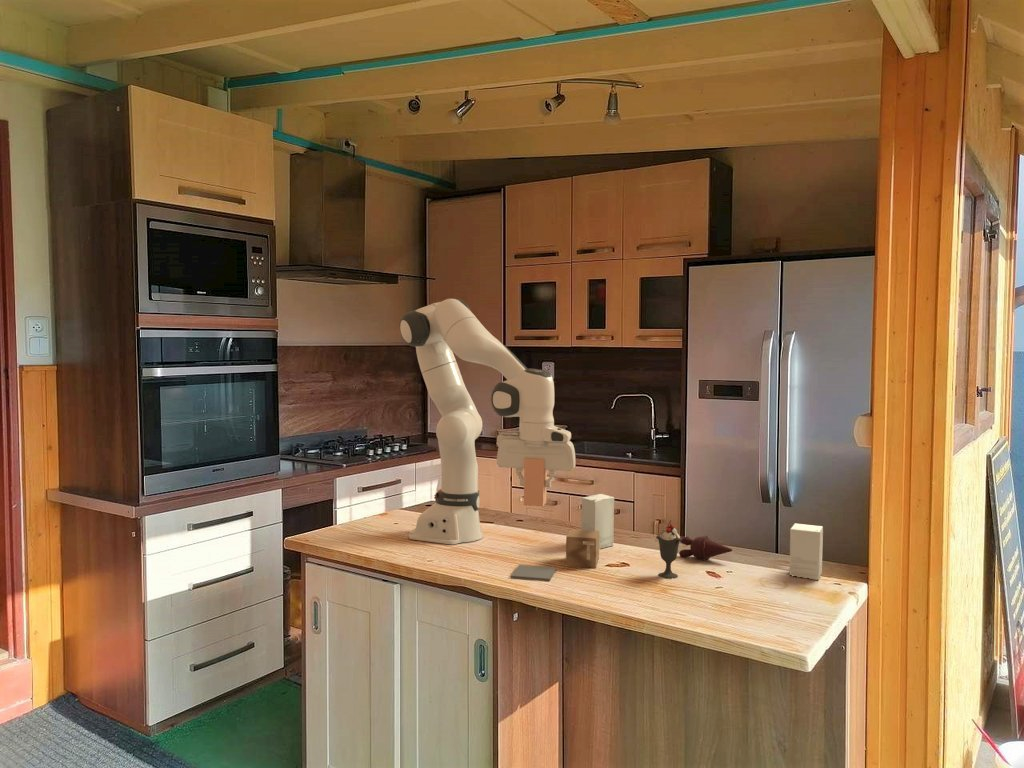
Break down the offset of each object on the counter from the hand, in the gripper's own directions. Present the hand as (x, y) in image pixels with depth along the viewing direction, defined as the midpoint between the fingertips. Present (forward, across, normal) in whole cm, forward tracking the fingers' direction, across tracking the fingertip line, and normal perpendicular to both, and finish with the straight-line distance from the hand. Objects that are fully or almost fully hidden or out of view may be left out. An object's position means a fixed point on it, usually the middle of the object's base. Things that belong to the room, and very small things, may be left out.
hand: (535, 486), depth 203 cm
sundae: (+23, +34, +7) cm, 42 cm away
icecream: (+23, +44, +25) cm, 55 cm away
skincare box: (+23, +13, +31) cm, 41 cm away
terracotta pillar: (+5, 0, 0) cm, 5 cm away
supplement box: (+23, +69, +17) cm, 75 cm away
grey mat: (+23, 0, 0) cm, 23 cm away
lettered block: (+23, +11, +13) cm, 28 cm away
